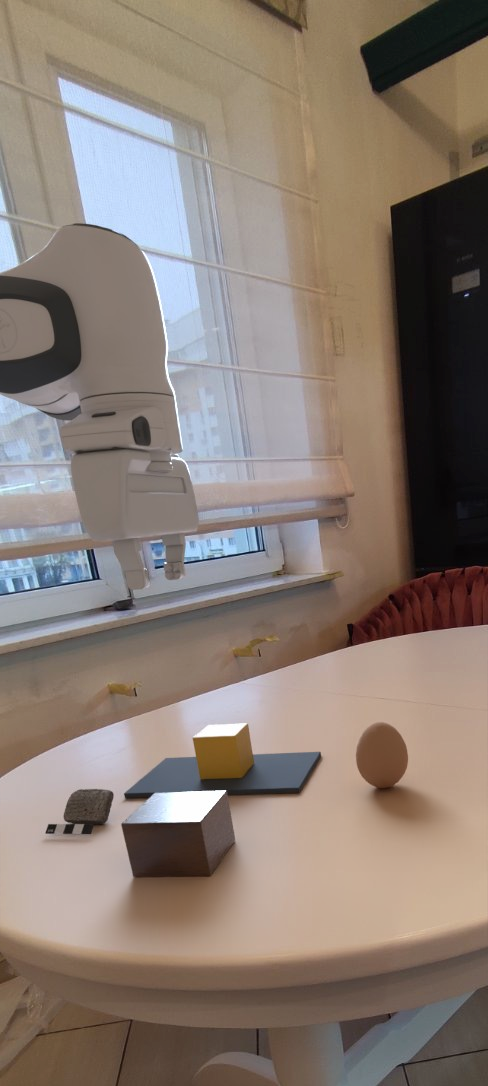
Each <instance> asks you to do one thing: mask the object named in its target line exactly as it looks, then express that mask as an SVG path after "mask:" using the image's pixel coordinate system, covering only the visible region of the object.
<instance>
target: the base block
mask: <svg viewBox="0 0 488 1086" xmlns="http://www.w3.org/2000/svg"><path fill="white" fill-rule="evenodd" d="M120 826H121V830H122V835H123V839H124V842H125V847H126V850H127V856H128V860H129V864H130V869H131V873H132V877H133V878H135V877H139V878H140V877H143V878H145V877H211V876H212V874H213V873H214V872H215V870H216V868H217V867H218V866H219V864H220V863H221V862H222V860H223V858H224V857H225V856H226V854H227V853H228V852H229V850H230V849H231V847H232V846H233V844H234V843H235V842H236V837H235V829H234V824H233V818H232V812H231V806H230V801H229V795H228V794H227V791H198V792H167V793H154V794H153V795H152V796H151V797H148V798H147V799H146V800H145V801H144V802H143V803H142V804H141V805H140V806H139V807H138V808H136V810H134V811H133V812H132V813H131V814H130V815H129V816H128V817H126V819H125V820H124V821H122V822H121V824H120Z"/></svg>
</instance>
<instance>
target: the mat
mask: <svg viewBox="0 0 488 1086" xmlns="http://www.w3.org/2000/svg"><path fill="white" fill-rule="evenodd" d="M321 757H322V752H321V751H302V752H280V753H279V752H278V753H256V754H254V753H253V759H254V764H253V765H252V766H251V768H250V769H249V770H248V771H247V772H246V774H245V775H244V776H243V777H242V778H226V779H200V775H199V770H198V765H197V759H196V756H184V757H183V756H182V757H165V758H164V759H163V760H162V761H160V762H159V763H158V764H157V765H155V766H154V767H153V768H152V769H151V770H150V771H148V772H147V773H146V774H145V775H144V776H142V777H141V778H140V779H139V780H138V781H137V782H135V784H133V785H132V786H131V787H130V788H128V789H127V790H126V791H125V792H124V793H123V796H124V799H144V798H145V799H149V798H150V797H151V796H152V795H153V794H154V793H167V792H198V791H227V794H228V796H241V795H269V794H272V795H273V794H298V793H299V794H300V793H301V791H302V790H303V789H304V786H305V785H306V782H307V781H308V779H309V778H310V776H311V774H312V773H313V771H314V769H315V768H316V766H317V764H318V762H319V760H320V759H321Z"/></svg>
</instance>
